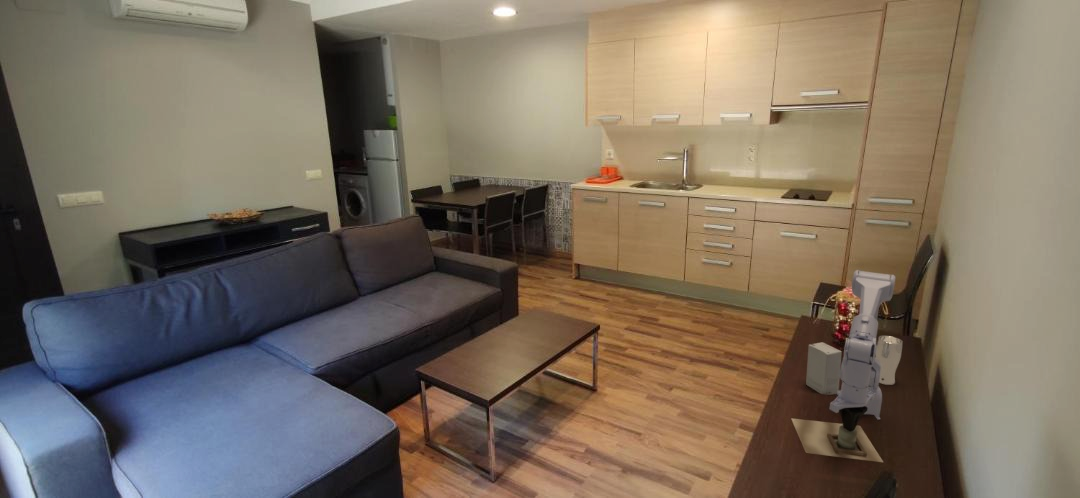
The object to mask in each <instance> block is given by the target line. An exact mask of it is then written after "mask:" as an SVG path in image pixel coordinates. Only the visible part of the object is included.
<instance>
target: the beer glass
mask: <svg viewBox="0 0 1080 498" xmlns="http://www.w3.org/2000/svg"><path fill="white" fill-rule="evenodd" d="M903 342H904V341H903V340H902V339H900V338H898V337H895V336H891V335H879V336H878V338H877V341H876V346H877V347H876V354H875V358H877V359H878V360H879V361H880V364H881V373H880V380H879V384H882V385H886V386H893V385H895V384H896V380H895V378H896V377H895V376H896V375H895V374H896V371H897V369H898V366H899V363H900V361H901V358H902V352H903Z"/></svg>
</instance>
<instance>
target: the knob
mask: <svg viewBox="0 0 1080 498" xmlns="http://www.w3.org/2000/svg"><path fill="white" fill-rule="evenodd" d="M856 436H857V430H856V429H854V431H851V432H850V431H848V430H846V429H845V428H843V425H841V426H840V427H839V434H838V441H837V445H838V446H839V447H840V448H842V449H848V450H854V449H855V443H856Z"/></svg>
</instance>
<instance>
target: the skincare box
mask: <svg viewBox="0 0 1080 498" xmlns="http://www.w3.org/2000/svg"><path fill="white" fill-rule="evenodd" d="M807 349H808V352H807V365H806V383H805V385H807V387H809V388H811V389H812V390H814V391H816V392H817V393H819V394H821V395H828V396H829V395H830V396H831V395H837V391H840V381H841V379H840V370H841V364H842V352H843V351H841V350H839V349H837V348H836V347H833V346H831V345H829V344H827V343H825V342H817V343H815V342H814V343H812V344H811V343H810V344H808V348H807Z"/></svg>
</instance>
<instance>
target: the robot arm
mask: <svg viewBox="0 0 1080 498" xmlns="http://www.w3.org/2000/svg"><path fill="white" fill-rule="evenodd" d="M896 279H897V278H896V276H895V275H894V274H887V273H881V272H880V273H879V272H872V271H871V272H870V271H863V270H859V269H856V270H855V271H853V274H852V281H851V291H852V295H853V296H855V297H857V298H859V299H860V301H859V313H858V315H855V316H853V318H852V322H851V327H850V331H849V334H848V337H847V338H846V340H845V343H844V348H843V349H844V350H843V357H842V360H841V367H840V381H841V388H840V389H839V391H837V394H836V395H837V396H836V398H835V399H834V400H833V401H831V402H829V410H830V411H831V412H834V413H835V414H837V413H840V417H841V420H842V421H841V422H842V424H843V428H845V429H846V430H848V431H850V432H851V431H854V429H855V427H856V425H857V426H858V423H859V421H860V420H861V419H862V417H863V415H872V416H873V415H874V417H875V418H876V420H879V421H880V420H881V417H880V415H881V408H882V403H883V393H882V390H881V388H880V386H879V385H880V383H879V380H880V373H881V364H880V361H879V360H878V359H877V358H876V347H877V335H878V329H879V321H878V316H879V308H880V306H881V305H882V303H884V302H890V301H891V299H892V298H893V296H894V291H895V290H894V289H895V285H896Z"/></svg>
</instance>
